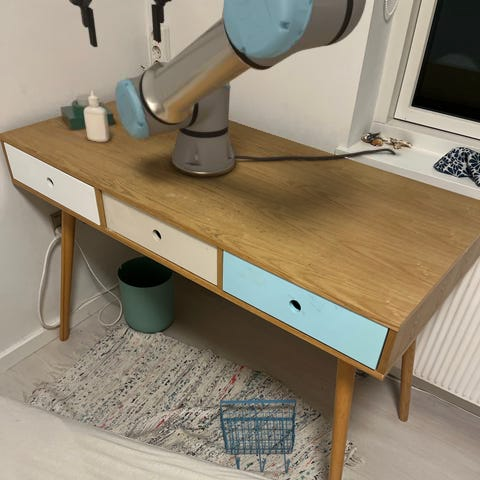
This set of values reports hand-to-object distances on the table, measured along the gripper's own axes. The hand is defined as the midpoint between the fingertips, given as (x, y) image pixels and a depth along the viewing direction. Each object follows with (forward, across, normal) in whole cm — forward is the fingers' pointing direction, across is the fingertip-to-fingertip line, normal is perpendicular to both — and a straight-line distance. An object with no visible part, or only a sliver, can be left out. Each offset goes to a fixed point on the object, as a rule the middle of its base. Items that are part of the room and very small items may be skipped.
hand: (126, 43), depth 104 cm
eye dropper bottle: (+26, +4, -19) cm, 33 cm away
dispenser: (+26, +3, -33) cm, 42 cm away
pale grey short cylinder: (+21, +3, -33) cm, 39 cm away
